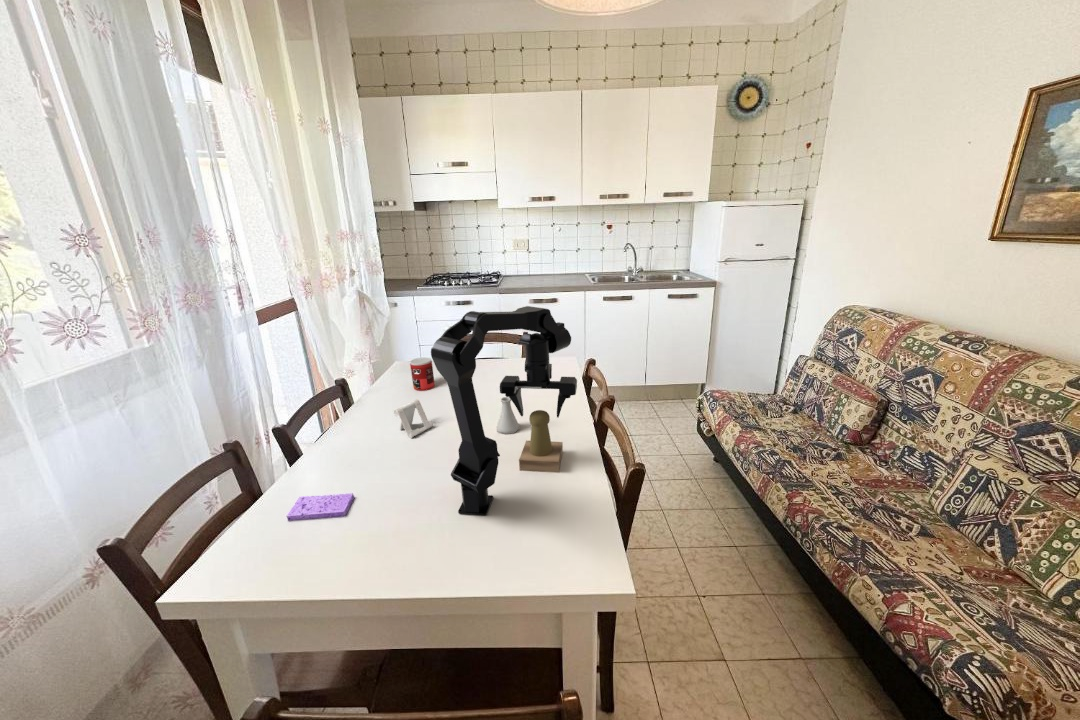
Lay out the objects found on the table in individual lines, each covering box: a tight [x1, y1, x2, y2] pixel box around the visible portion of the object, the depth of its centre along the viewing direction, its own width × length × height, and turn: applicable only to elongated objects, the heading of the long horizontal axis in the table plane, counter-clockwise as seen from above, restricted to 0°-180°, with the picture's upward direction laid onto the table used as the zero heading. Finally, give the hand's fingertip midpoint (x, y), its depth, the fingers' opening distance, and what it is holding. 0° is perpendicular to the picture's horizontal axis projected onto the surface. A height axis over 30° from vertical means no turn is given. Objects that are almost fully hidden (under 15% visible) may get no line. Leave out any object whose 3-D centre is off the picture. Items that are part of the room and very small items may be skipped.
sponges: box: [286, 492, 355, 521], centre depth 100 cm, size 7×13×2 cm, turn 95°
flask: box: [496, 396, 520, 435], centre depth 132 cm, size 7×7×10 cm
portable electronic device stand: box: [393, 399, 434, 439], centre depth 134 cm, size 9×8×8 cm
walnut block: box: [518, 440, 564, 473], centre depth 115 cm, size 10×10×3 cm
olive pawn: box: [529, 409, 552, 457], centre depth 113 cm, size 6×6×11 cm
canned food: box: [409, 357, 435, 392], centre depth 167 cm, size 8×8×11 cm
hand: (540, 416), depth 111 cm, fingers open, 9 cm apart
